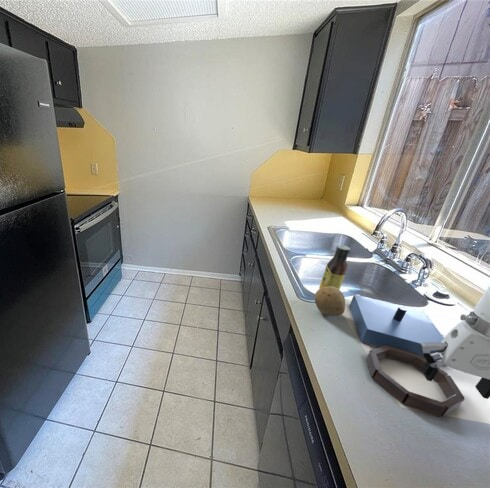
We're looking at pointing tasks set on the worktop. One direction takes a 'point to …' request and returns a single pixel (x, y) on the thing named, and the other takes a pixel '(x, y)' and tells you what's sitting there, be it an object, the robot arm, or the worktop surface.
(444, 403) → the walnut ring
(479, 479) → the worktop surface
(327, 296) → the brown potato
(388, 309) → the ring stand
